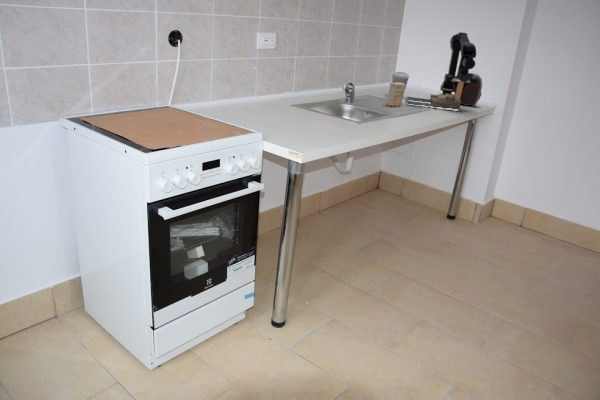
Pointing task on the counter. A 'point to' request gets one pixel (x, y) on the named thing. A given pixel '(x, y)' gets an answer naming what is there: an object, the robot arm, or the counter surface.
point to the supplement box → (395, 94)
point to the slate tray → (418, 100)
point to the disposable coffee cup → (400, 78)
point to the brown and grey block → (458, 91)
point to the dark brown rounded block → (472, 92)
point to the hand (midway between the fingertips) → (457, 93)
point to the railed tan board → (443, 103)
